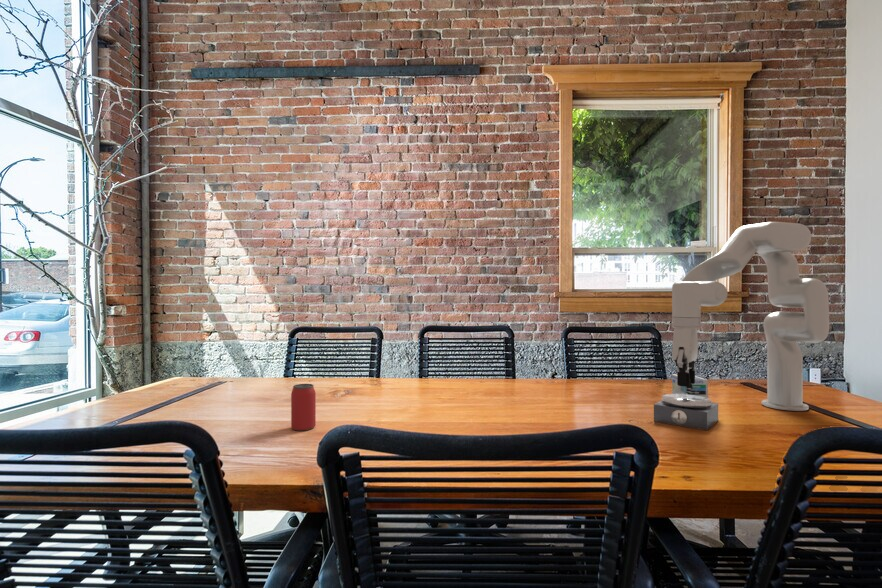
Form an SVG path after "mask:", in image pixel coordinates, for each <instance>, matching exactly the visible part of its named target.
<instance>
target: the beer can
mask: <svg viewBox="0 0 882 588" xmlns="http://www.w3.org/2000/svg"><path fill="white" fill-rule="evenodd" d="M314 385H315V384H312V383H299V384H294V385H293V386H292V391H291V394H290V395H291V397H290V402H291V403H290V406H291V407H290V410H291V411H290V416H291V417H290V422H291V423H290V425H291V426H290V427H291V429H292V430H294V431H295V432H296V431H299V432H304V431H309V430H313V429H314V428H315V427H316V423H317V422H316V419H317V418H316V414H317V413H316V407H317V405H316V390H315V388H314Z"/></svg>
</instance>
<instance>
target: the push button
mask: <svg viewBox="0 0 882 588" xmlns="http://www.w3.org/2000/svg"><path fill="white" fill-rule="evenodd" d="M683 361H684V362H687V361H686V360H683ZM694 363H695V364H696V361H695V360H694V361H692V362H690V363H689V369H692V367H694ZM677 365H678V364H677V361H675V366H676V367H677ZM685 367H686V364H685ZM688 373H689V372H688ZM691 390H692V384H691V379H690V386H689V387H686V386H679V391H682V392H684V393H692V392H691Z"/></svg>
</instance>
